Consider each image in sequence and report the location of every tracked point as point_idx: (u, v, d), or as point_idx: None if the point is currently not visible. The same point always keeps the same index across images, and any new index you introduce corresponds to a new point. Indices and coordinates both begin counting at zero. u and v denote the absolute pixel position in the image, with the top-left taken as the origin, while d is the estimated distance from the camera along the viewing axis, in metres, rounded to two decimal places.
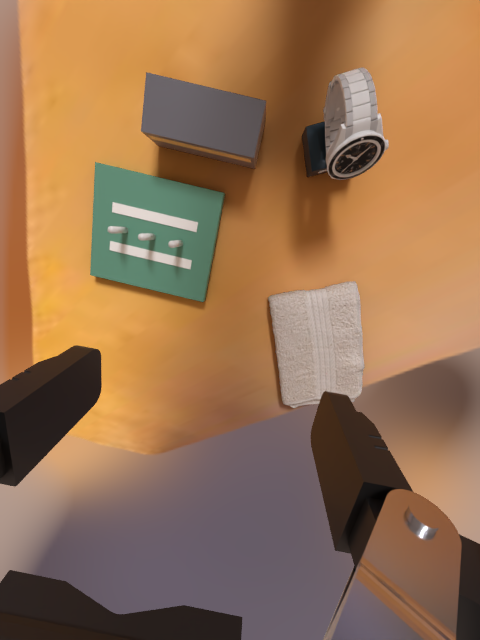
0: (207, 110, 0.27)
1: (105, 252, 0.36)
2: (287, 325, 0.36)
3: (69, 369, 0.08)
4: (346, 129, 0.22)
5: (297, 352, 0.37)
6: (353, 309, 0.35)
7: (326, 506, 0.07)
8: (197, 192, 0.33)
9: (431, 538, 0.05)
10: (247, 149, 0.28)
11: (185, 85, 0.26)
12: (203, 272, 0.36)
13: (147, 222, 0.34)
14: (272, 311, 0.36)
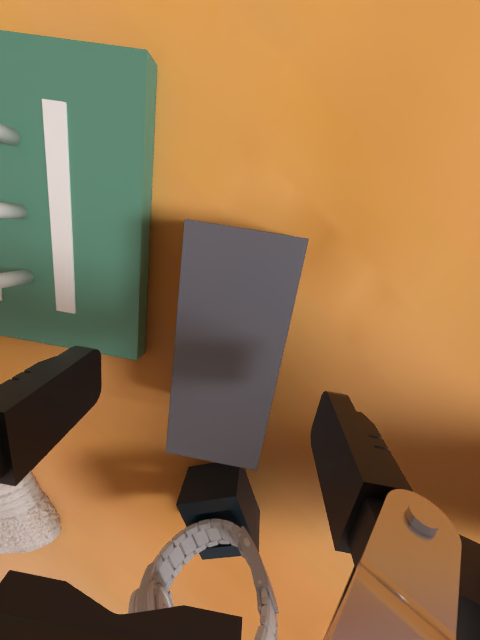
0: (237, 374, 0.13)
1: None
2: None
3: (69, 369, 0.08)
4: None
5: None
6: (11, 546, 0.23)
7: (326, 505, 0.07)
8: (128, 312, 0.16)
9: (431, 538, 0.05)
10: (178, 442, 0.14)
11: (281, 330, 0.12)
12: None
13: (45, 199, 0.15)
14: None
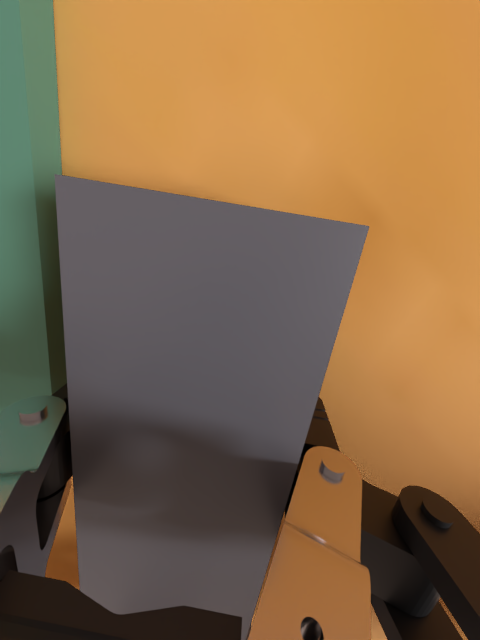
0: (201, 503, 0.06)
1: None
2: None
3: None
4: None
5: None
6: None
7: None
8: (31, 353, 0.10)
9: (335, 481, 0.05)
10: (101, 600, 0.08)
11: (293, 429, 0.05)
12: None
13: None
14: None
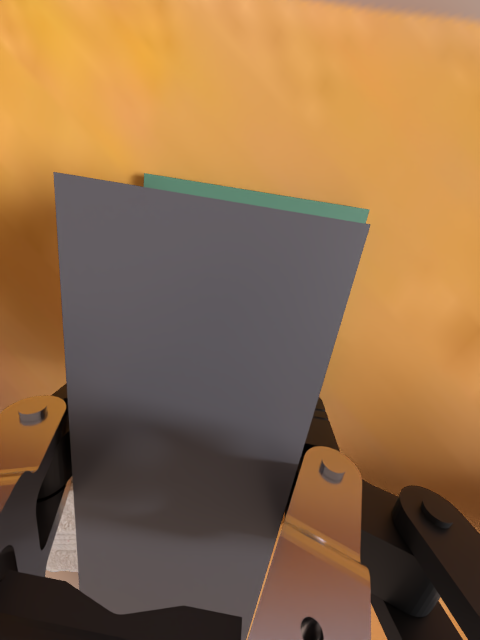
0: (201, 503, 0.06)
1: None
2: None
3: None
4: None
5: None
6: None
7: None
8: None
9: (335, 481, 0.05)
10: (100, 600, 0.08)
11: (293, 428, 0.05)
12: None
13: None
14: None
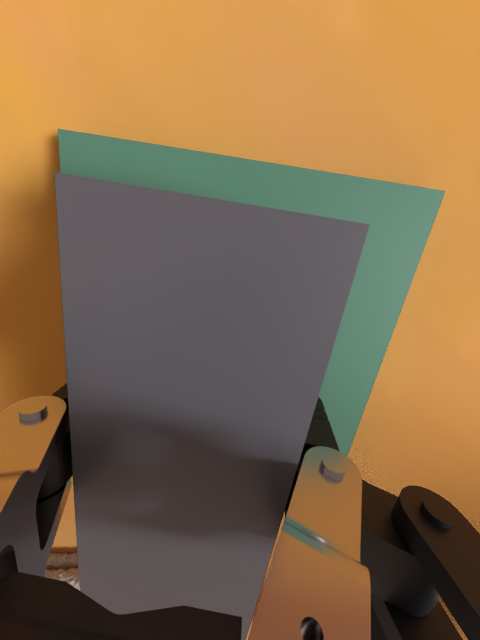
0: (202, 502, 0.06)
1: None
2: None
3: None
4: None
5: None
6: None
7: None
8: None
9: (335, 481, 0.05)
10: (101, 599, 0.08)
11: (293, 427, 0.05)
12: None
13: None
14: None
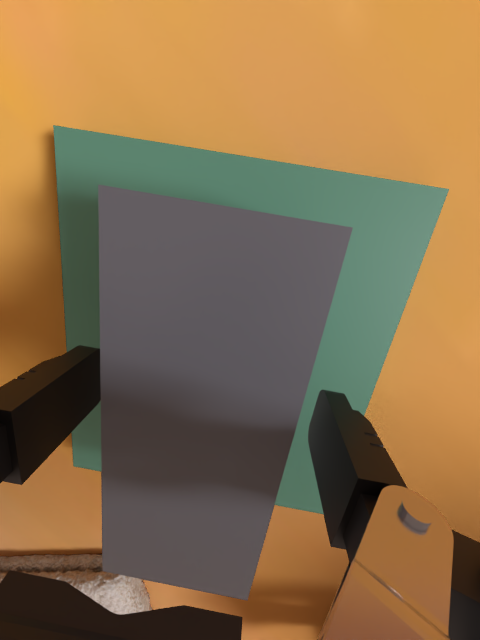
0: (212, 465, 0.07)
1: None
2: None
3: (73, 368, 0.08)
4: None
5: None
6: None
7: (322, 503, 0.07)
8: None
9: (424, 533, 0.05)
10: (120, 558, 0.09)
11: (291, 398, 0.06)
12: None
13: None
14: (93, 586, 0.17)
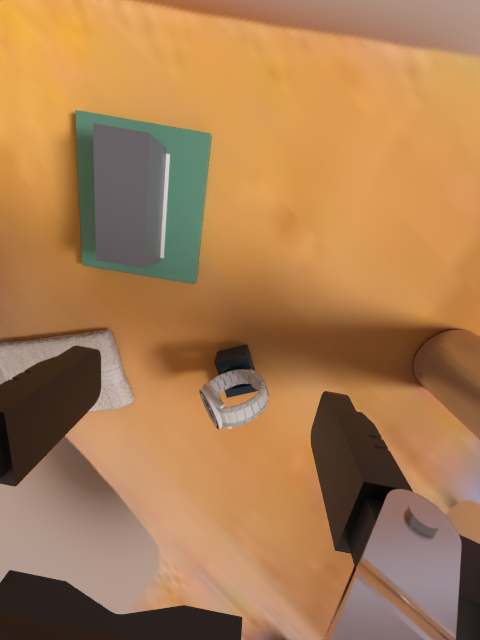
0: (126, 208, 0.26)
1: None
2: None
3: (69, 369, 0.08)
4: (220, 408, 0.28)
5: None
6: (106, 404, 0.39)
7: (326, 505, 0.07)
8: (191, 257, 0.32)
9: (431, 538, 0.05)
10: (101, 253, 0.27)
11: (144, 182, 0.25)
12: (113, 264, 0.33)
13: None
14: (92, 336, 0.36)
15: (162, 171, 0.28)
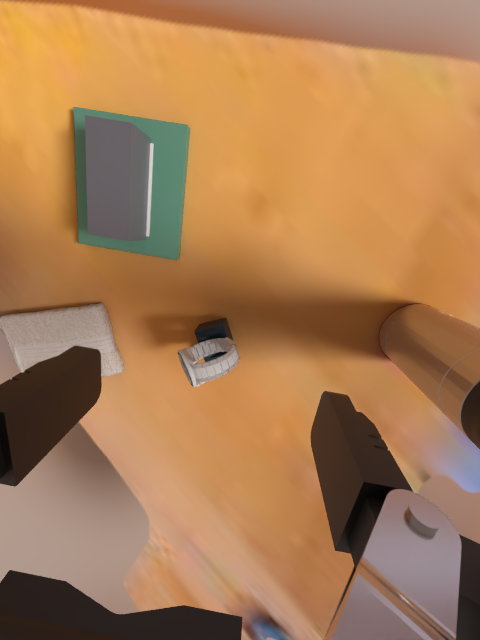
0: (113, 187, 0.30)
1: None
2: (76, 321, 0.40)
3: (69, 369, 0.08)
4: (193, 364, 0.31)
5: (53, 330, 0.41)
6: None
7: (326, 505, 0.07)
8: (173, 235, 0.36)
9: (431, 538, 0.05)
10: (92, 227, 0.32)
11: (128, 164, 0.29)
12: (106, 242, 0.37)
13: None
14: (87, 308, 0.40)
15: (146, 158, 0.33)
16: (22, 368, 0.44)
